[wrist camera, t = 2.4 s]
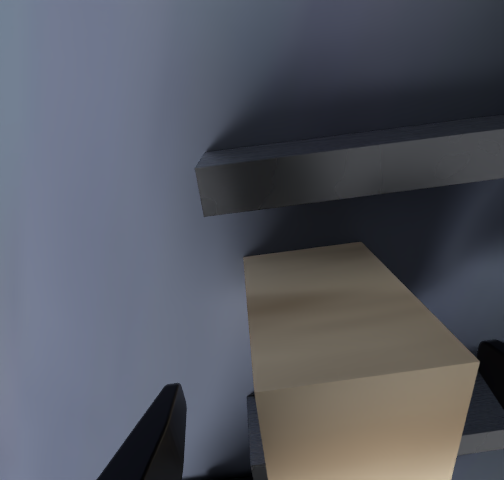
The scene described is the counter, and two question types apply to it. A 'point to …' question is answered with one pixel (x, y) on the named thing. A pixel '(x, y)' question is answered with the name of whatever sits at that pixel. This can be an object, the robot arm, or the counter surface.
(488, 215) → the counter surface
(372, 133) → the channel
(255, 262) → the maple block
